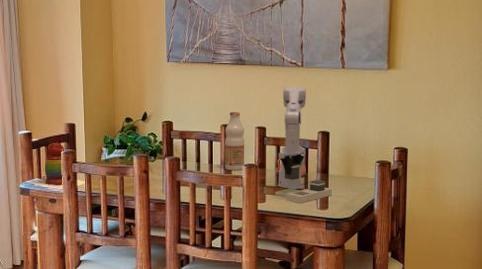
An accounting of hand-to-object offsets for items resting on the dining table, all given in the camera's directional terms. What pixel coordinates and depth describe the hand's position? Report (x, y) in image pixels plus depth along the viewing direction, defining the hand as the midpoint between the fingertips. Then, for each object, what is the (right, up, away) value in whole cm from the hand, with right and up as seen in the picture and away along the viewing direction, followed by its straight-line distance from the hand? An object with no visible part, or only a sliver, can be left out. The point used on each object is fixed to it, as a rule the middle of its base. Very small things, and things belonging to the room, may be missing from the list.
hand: (291, 173), depth 283 cm
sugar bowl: (+3, -4, +43) cm, 44 cm away
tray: (0, -9, +2) cm, 10 cm away
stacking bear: (-102, -6, +24) cm, 105 cm away
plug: (0, -2, 0) cm, 2 cm away
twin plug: (+10, -9, 0) cm, 14 cm away
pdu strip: (+7, -10, -4) cm, 13 cm away
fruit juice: (-24, -1, +59) cm, 64 cm away
